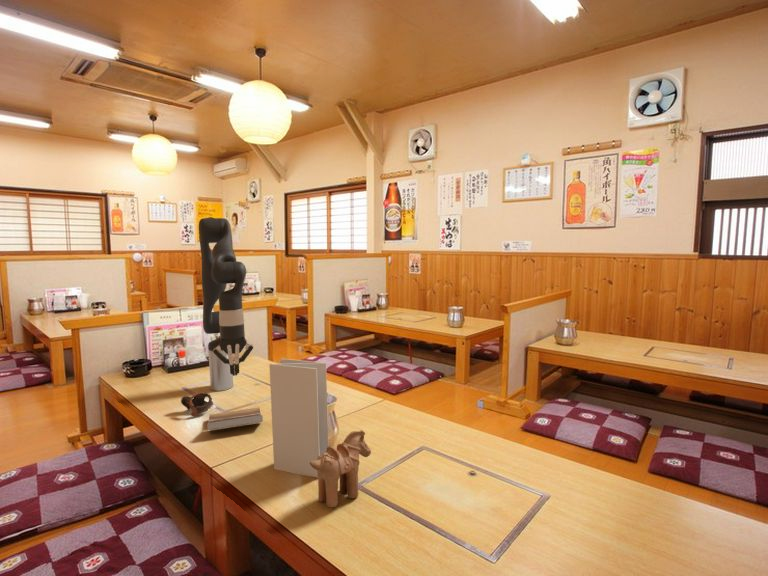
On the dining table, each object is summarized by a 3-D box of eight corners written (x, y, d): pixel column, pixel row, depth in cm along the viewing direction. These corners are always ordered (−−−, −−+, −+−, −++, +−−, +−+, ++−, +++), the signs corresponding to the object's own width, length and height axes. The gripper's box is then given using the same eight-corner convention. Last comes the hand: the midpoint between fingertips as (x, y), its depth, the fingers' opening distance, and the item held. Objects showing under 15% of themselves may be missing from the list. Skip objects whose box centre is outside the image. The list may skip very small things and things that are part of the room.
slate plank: (208, 430, 141) (208, 424, 141) (261, 422, 147) (261, 416, 147) (207, 429, 134) (207, 423, 135) (262, 421, 140) (262, 414, 141)
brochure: (329, 467, 117) (326, 362, 114) (320, 478, 112) (316, 368, 109) (285, 459, 122) (280, 358, 119) (274, 469, 117) (269, 364, 113)
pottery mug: (217, 406, 163) (217, 392, 158) (206, 426, 155) (207, 412, 150) (185, 399, 162) (185, 385, 157) (173, 419, 154) (173, 405, 149)
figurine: (379, 487, 108) (378, 431, 106) (321, 517, 96) (319, 455, 94) (361, 475, 113) (360, 422, 111) (304, 503, 102) (302, 444, 100)
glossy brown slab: (209, 420, 149) (209, 413, 149) (259, 412, 155) (259, 406, 155) (209, 429, 142) (208, 422, 142) (261, 420, 148) (260, 414, 148)
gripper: (252, 319, 143) (255, 369, 145) (210, 323, 138) (213, 374, 140) (253, 323, 136) (256, 375, 138) (209, 326, 131) (212, 380, 133)
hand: (234, 374), depth 139 cm, fingers closed
